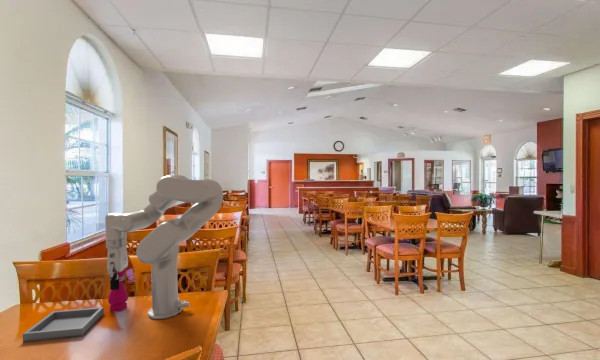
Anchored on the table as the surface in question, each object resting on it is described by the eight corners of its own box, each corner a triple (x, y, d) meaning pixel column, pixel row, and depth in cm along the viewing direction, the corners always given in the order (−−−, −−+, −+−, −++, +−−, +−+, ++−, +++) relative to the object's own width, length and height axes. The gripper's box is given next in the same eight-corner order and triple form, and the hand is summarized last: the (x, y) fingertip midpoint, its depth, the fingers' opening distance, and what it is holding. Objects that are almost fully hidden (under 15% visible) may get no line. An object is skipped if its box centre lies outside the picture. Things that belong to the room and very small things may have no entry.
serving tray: (103, 313, 129) (103, 307, 129) (82, 336, 111) (82, 328, 111) (53, 318, 126) (52, 311, 126) (22, 342, 108) (22, 334, 108)
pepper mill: (119, 313, 130) (118, 263, 129) (104, 312, 131) (102, 262, 130) (132, 305, 137) (130, 258, 136) (117, 304, 138) (116, 258, 138)
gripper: (118, 247, 125) (120, 293, 126) (133, 238, 142) (134, 279, 143) (97, 248, 124) (99, 295, 124) (114, 239, 141) (115, 280, 141)
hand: (117, 286), depth 134 cm, fingers open, 5 cm apart
